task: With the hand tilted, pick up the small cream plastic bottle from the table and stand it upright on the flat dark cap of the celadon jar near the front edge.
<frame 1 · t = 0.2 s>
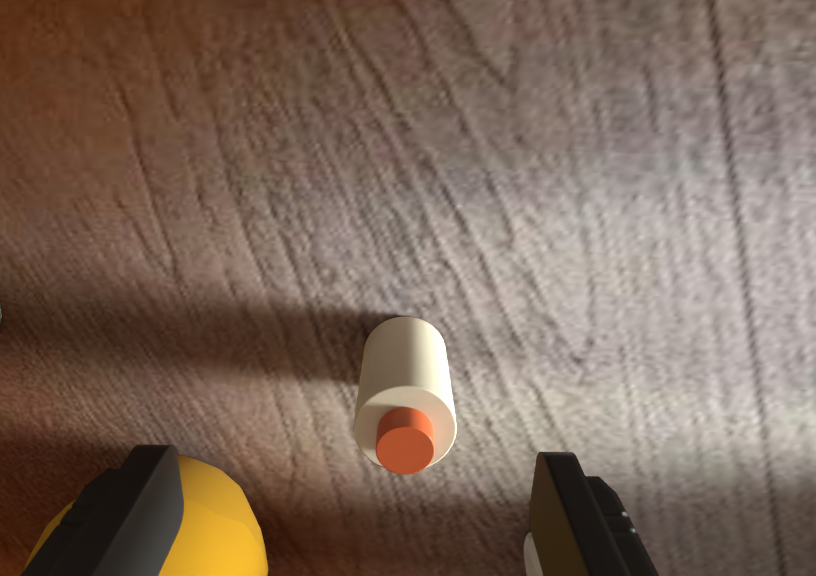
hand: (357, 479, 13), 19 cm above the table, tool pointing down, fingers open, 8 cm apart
apple: (193, 497, 37), on the table
bottle: (563, 532, 38), on the table
cream bottle: (404, 353, 33), on the table
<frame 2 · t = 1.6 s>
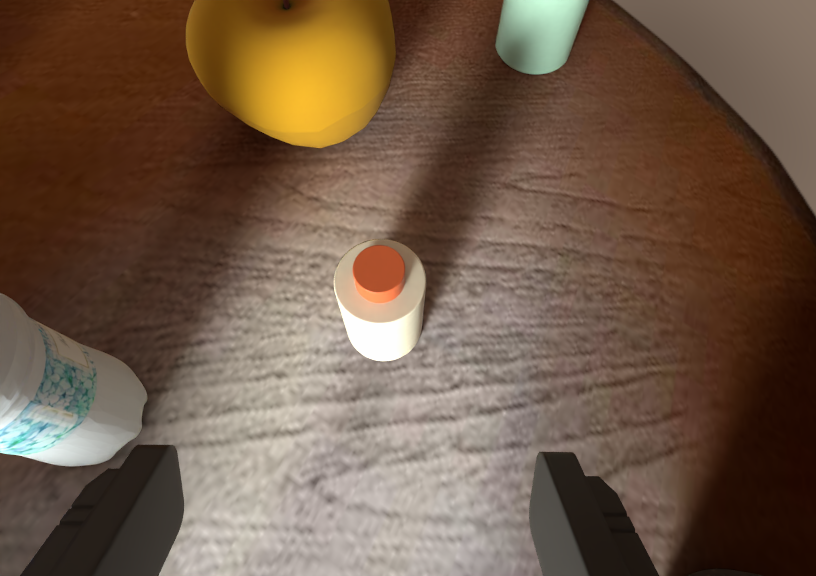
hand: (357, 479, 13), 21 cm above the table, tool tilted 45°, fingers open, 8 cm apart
apple: (312, 113, 42), on the table
bottle: (105, 415, 34), on the table
celadon jar: (532, 45, 45), on the table
cream bottle: (384, 324, 36), on the table
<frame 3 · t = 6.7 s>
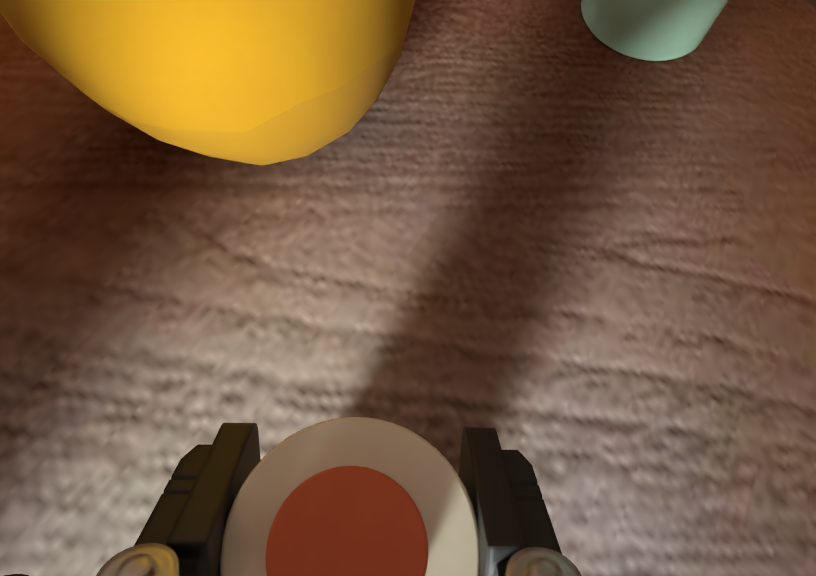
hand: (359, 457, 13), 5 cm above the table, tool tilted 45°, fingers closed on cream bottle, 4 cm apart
apple: (260, 102, 24), on the table
celadon jar: (643, 13, 27), on the table
cream bottle: (363, 540, 17), on the table, touching gripper
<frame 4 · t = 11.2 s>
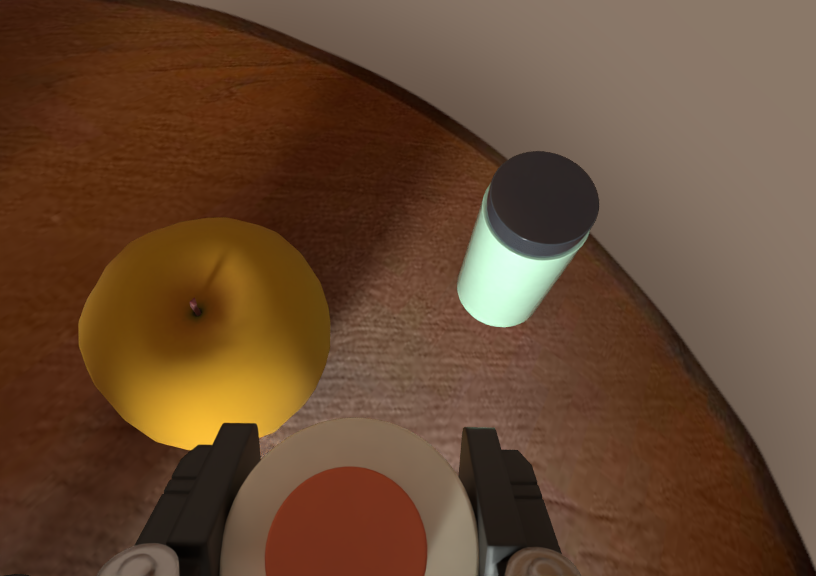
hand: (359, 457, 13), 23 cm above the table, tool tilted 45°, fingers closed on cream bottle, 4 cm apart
apple: (241, 362, 37), on the table
celadon jar: (498, 287, 40), on the table
cream bottle: (363, 540, 17), point 18 cm above the table, touching gripper
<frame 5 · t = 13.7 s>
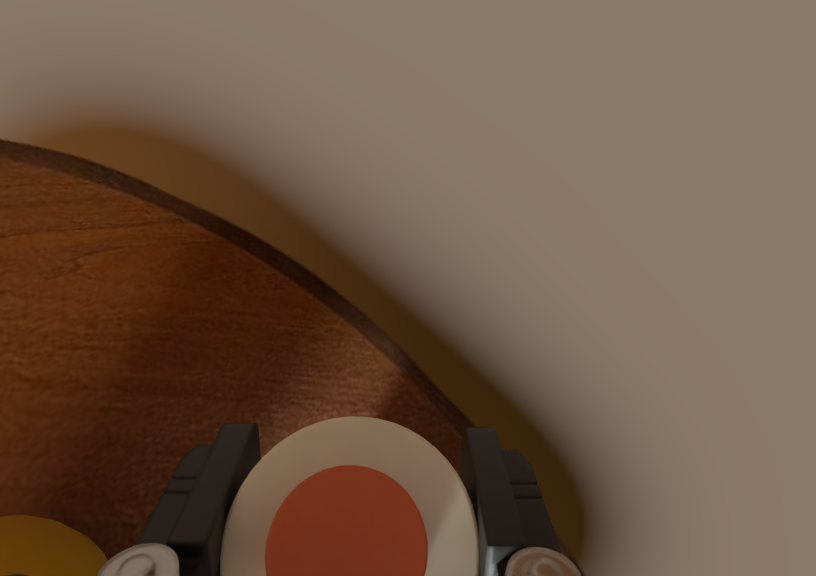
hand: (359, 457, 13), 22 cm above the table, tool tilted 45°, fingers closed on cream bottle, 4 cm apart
cream bottle: (363, 540, 17), point 17 cm above the table, touching gripper
when the fingers open (17 cm above the table, at t = 15.7 s): cream bottle stays where it is, resting on celadon jar.
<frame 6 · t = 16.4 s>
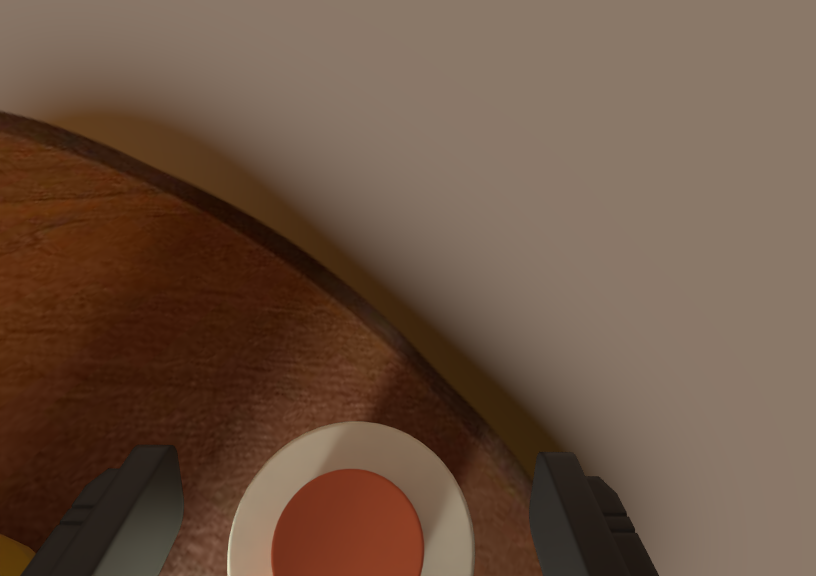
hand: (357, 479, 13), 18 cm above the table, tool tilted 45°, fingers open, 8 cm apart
cream bottle: (363, 539, 18), point 12 cm above the table, touching celadon jar
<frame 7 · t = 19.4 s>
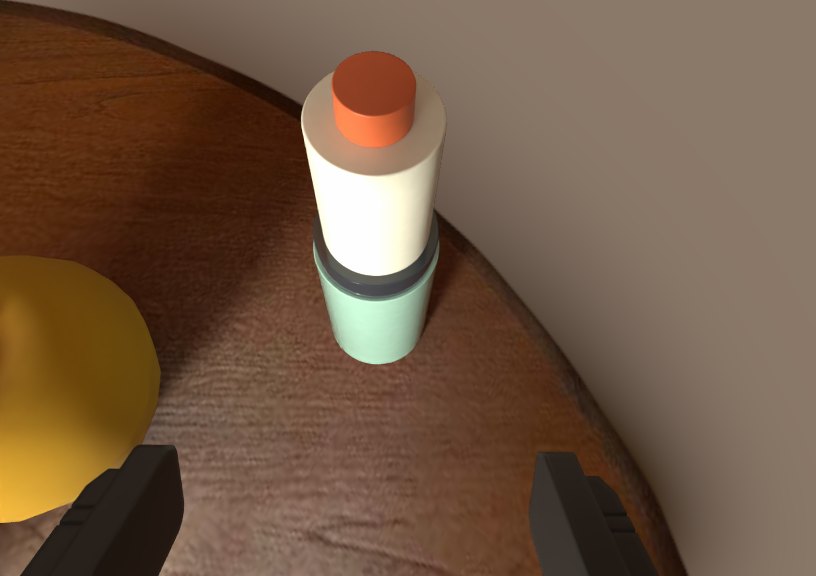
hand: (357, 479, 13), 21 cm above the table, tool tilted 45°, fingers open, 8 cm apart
apple: (83, 408, 34), on the table
celadon jar: (378, 319, 36), on the table, touching cream bottle
cream bottle: (376, 228, 25), point 12 cm above the table, touching celadon jar
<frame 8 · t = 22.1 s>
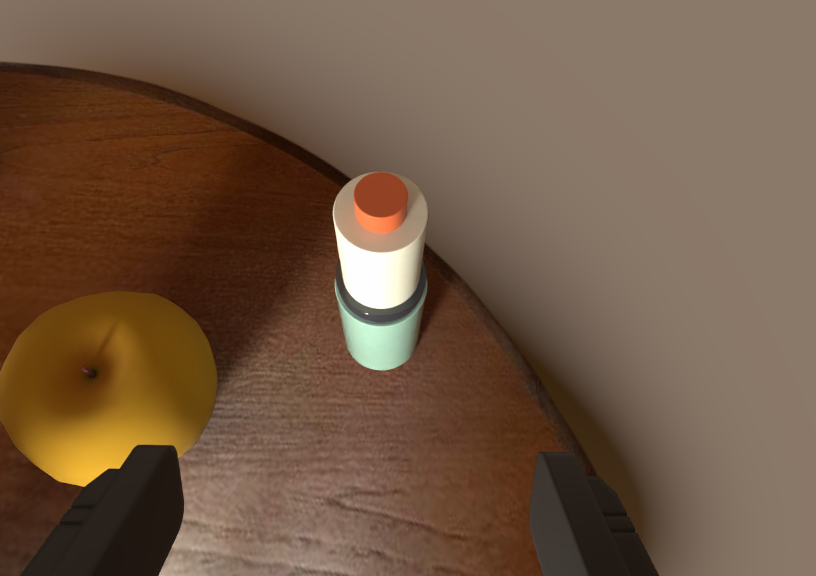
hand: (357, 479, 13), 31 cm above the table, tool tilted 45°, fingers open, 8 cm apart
apple: (153, 404, 43), on the table
celadon jar: (381, 334, 46), on the table, touching cream bottle
cream bottle: (381, 273, 35), point 12 cm above the table, touching celadon jar
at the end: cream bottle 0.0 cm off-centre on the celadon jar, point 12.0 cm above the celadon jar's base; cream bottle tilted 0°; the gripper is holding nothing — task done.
